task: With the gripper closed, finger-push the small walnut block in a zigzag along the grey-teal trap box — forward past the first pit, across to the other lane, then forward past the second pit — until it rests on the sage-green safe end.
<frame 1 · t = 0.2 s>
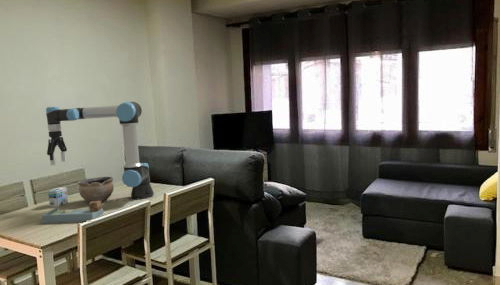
hand: (58, 163, 272), 28 cm above the table, tool pointing down, fingers open, 13 cm apart
light bulb box: (59, 205, 276), on the table
walnut block: (95, 210, 246), point 3 cm above the table, touching trap box
ceramic bowl: (97, 201, 280), on the table
trap box: (76, 217, 243), on the table
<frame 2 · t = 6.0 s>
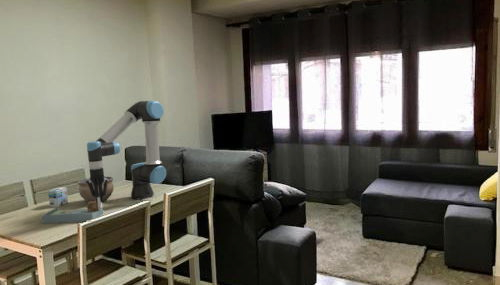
hand: (100, 207, 245), 5 cm above the table, tool pointing down, fingers closed
walnut block: (93, 210, 246), point 3 cm above the table, touching gripper, trap box
everything else where it was.
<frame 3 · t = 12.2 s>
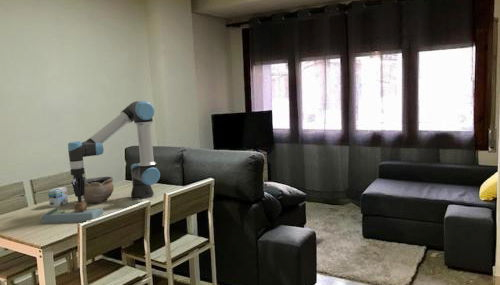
hand: (81, 206, 250), 5 cm above the table, tool pointing down, fingers closed
walnut block: (80, 211, 246), point 3 cm above the table, touching gripper
everything else where it was.
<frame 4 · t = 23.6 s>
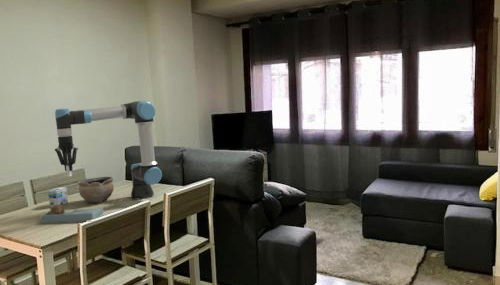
hand: (69, 176, 241), 24 cm above the table, tool pointing down, fingers closed
walnut block: (57, 214, 241), point 3 cm above the table, touching trap box
everything else where it was.
at the end: walnut block inside the target area on the trap box (1.8 cm from its centre), point 3.0 cm above the trap box's base; walnut block tilted 0° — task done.
